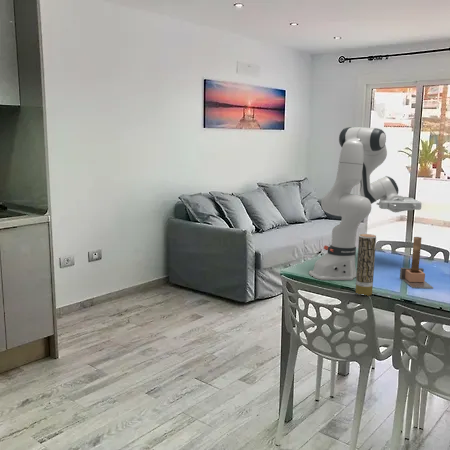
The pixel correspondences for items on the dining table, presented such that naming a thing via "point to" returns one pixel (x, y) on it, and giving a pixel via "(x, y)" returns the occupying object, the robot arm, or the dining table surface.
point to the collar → (415, 276)
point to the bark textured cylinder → (365, 264)
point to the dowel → (416, 255)
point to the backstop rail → (414, 284)
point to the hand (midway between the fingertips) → (404, 207)
